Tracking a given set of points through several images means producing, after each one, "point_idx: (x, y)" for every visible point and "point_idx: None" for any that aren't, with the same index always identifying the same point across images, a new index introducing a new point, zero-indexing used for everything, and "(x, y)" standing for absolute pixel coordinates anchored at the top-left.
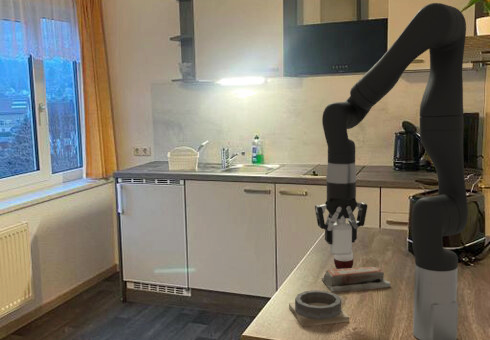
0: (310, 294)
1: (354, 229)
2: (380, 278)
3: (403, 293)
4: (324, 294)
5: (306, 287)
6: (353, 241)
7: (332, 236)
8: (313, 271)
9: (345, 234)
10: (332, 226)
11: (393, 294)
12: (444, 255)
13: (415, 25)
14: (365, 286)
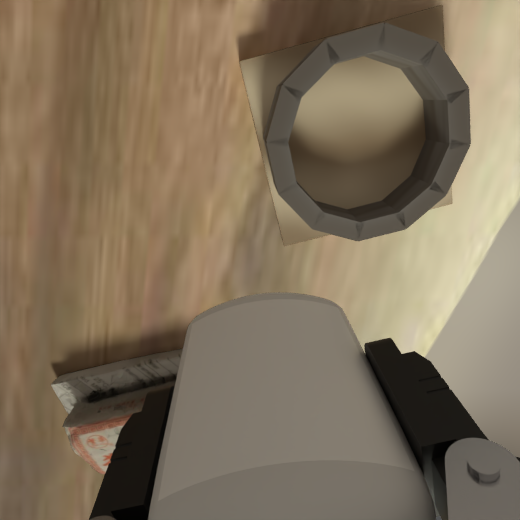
0: (384, 212)
1: (117, 509)
2: (83, 406)
3: (11, 324)
4: (326, 211)
5: None
6: (159, 391)
7: (382, 403)
8: None
9: (241, 418)
10: (454, 504)
11: (48, 315)
12: None
13: None
14: (144, 361)
